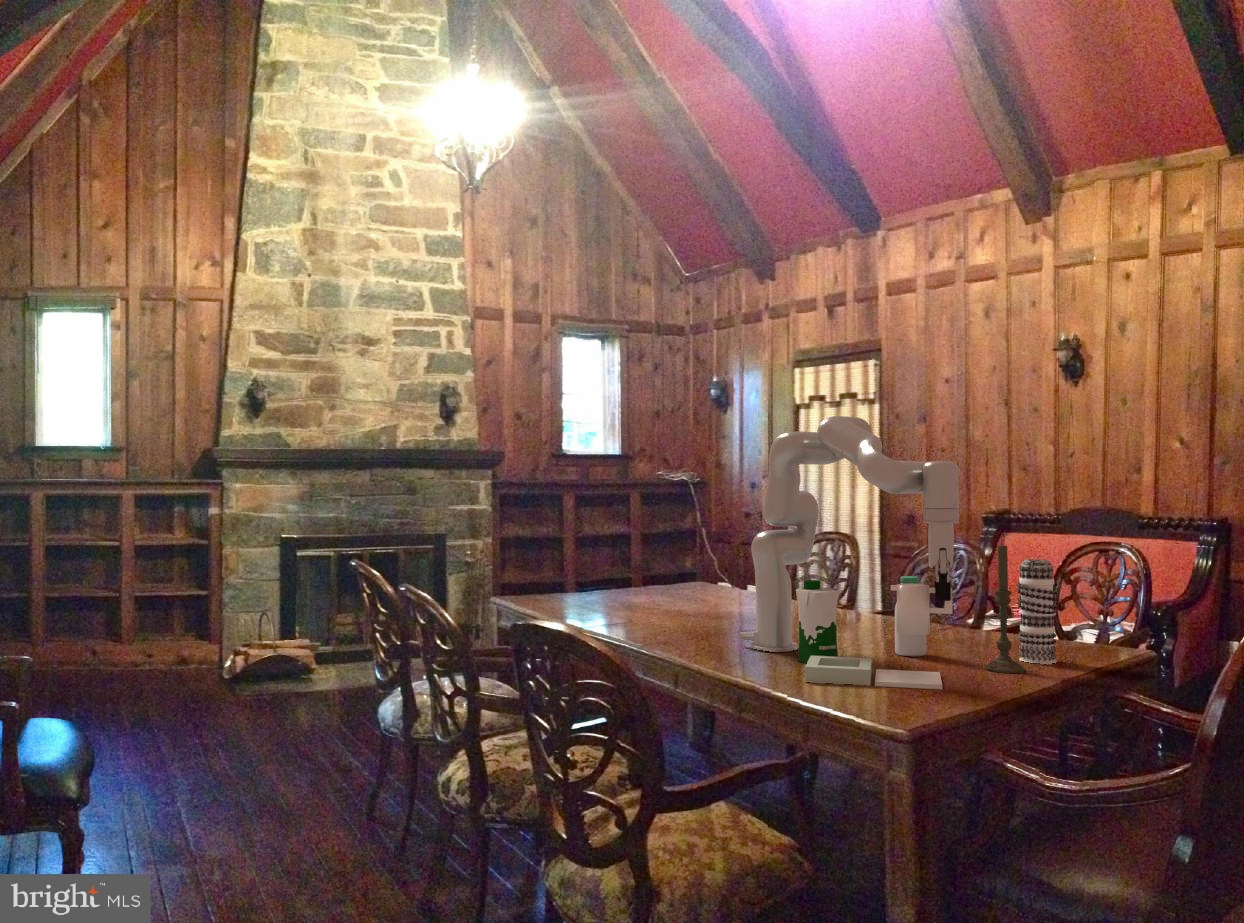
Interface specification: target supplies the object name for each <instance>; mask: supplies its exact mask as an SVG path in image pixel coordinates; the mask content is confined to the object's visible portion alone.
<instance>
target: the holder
mask: <svg viewBox="0 0 1244 923" xmlns="http://www.w3.org/2000/svg"><path fill="white" fill-rule="evenodd" d="M872 660H873V659H872V657H852V656H851V657H850V656H838V657H833V656H810V658H809V660H808V662H807V664H806V663H805V666H804V669H805V670H804V672H805V674H804V678H805V679H804V680H805V682H810V683H809V684H825V683H833V684H832V685H844V684H853V685H852V686H864V685H866V686H869V687H870V686H871V684H872V674H873V669H872V668H873V662H872ZM805 682H804V683H805ZM866 686H865V687H866Z"/></svg>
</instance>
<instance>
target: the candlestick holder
mask: <svg viewBox="0 0 1244 923" xmlns="http://www.w3.org/2000/svg"><path fill="white" fill-rule="evenodd" d="M1000 544H1001V545H999V544H998V545H997V590H996V589H995V590H994V594H995V595H996V598H995V601H996V602H995V603H997V604H998V605H999V613H998V618H999V625H1000V627H999V630H1000V637H999V638H998V640H996V641H995V645H996V647H997V649H998V650H999V655H998V656H997V657H996V658H995V659H992V660H991V661H989V662H988V663H986V664H984V665H983V670H986V671H988V672H990V673H991V672H992V673H998V674H1021V673H1020V672H1022V673H1024V672H1025V671H1026V669H1025V666H1023V665H1021V664H1020V663H1019V662H1017V660H1014V659H1012V658H1011V657H1010V655H1009V651H1010V650H1012V649H1011V648H1012V645H1013V643H1012V641H1010V640H1009V637H1008V635H1007V632H1008V619H1009V614H1008V612H1009V611H1008V607H1007V606H1008V605H1009V604H1011V602H1012V601H1011V598H1010V596H1011V595H1012V593H1013V591H1012V590H1009V568H1008V567H1009V566H1008V565H1009V564H1008V561H1009V560H1008V559H1009V558H1008V545H1006V544H1004V545H1003V543H1002V542H1000Z"/></svg>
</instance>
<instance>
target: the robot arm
mask: <svg viewBox="0 0 1244 923" xmlns="http://www.w3.org/2000/svg"><path fill="white" fill-rule="evenodd" d="M769 448H770V449H769V456H768V478H767V482H766V488H765V495H764V499H763V500H764V501H763V508H762V516H763V519H764V522H765V523H766V524H767V525H769V526H773V527H787V529H769V530H768V529H767V530H764V531H761V532H759V533H758V534H757V535H755V536H754V537H753V540H752V541H751V545H750V546H751V547H750V548H751V556H752V560H753V568H754V577H755V578H754V580H755V630H754V631H751V632H748V631H747V632H743V631H741V632H740V633H739V640H743V641H751V643H750V648H751V647H752V648H753V649H752V648H751V649H752V650H754V649H757V650H756V651H758V650H763V651H762V652H765V651H769V652H768V653H789V652H794V651H797V650H799V643H796V642H793V623H792V621H793V617H792V616H793V613H792V612H793V610H792V609H793V608H792V602H793V601H792V600H793V599H792V580H791V577H790V576H791V575H790V574H789V571H788V570H787V567H786V566H789V565H791V566H792V565H799V564H800V565H801V564H803V563H805V562H807V561H808V560H809V558H810V557H811V555H812V553H813V550H814V549H813V548H814V543H815V539H816V532H817V528H818V527H817V526H818V521H819V505H818V500H817V499H816V498H815V496H814V495H813V494H812V493H811V492H809V491H806V490H800V485H801V473H800V470H799V467H798V465H820V466H821V465H831V464H834V463H836V462H839V461H841V460H843V459H846V460H847V461H848V462H849V463H851V464H853V465H855V466H856V468H857V471H858V473H859V474H860V476H862V478H863V479H864V480H866V482H868V483H870V484H871V485H873V486H875V487H877V488H878V489H879V490H882V491H884V492H886V493H888V494H893V495H909V494H910V495H920V494H921V495H923V496H922V497H923V498H922V500H923V502H922V504H923V505H922V506H923V511H922V512H923V524H928V531H927V532H928V533H927V539H928V541H927V542H928V544H927V548H928V549H927V550H928V555H927V556H928V566H929V568H930V569H933V567H934V568H935V573H934V574H935V580H934V588H935V593H934V599H935V601H937V602H939V601H943V602H945V601H950V600H951V588H952V587H951V586H952V585H951V582H950V569H952V568H953V565H954V549H955V548H954V547H955V541H954V540H955V535H954V534H955V532H954V531H955V530H954V528H955V527H954V526H955V525H954V524H960V494H959V492H960V491H959V486H960V485H959V467H958V464H957V463H956V462H955V461H952V460H951V461H950V460H947V461H946V460H934V461H932V460H931V461H924V460H923V461H921V460H919V461H918V460H895V459H892V458H890V457H888V456H887V455H884V454H883V453H882V451H883V443H882V440H881V438H879V437H878V436H877V435H875V434H874V433H873V430H872V427H871V425H870V423H869V422H868V421H866V420H865V419H863V418H861V417H857V416H843V415H841V416H840V415H836V416H835V415H834V416H829V417H827V418H825V419H823V420H822V421H821V422H820V423H819V425H818V427H817V431H798V430H797V431H790V432H789V431H787V432H784V433H782V434H780V435H778V436H777V437H775V439H774V440H773V441H772V443H771V446H770V447H769ZM793 650H794V651H793Z"/></svg>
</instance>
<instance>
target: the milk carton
mask: <svg viewBox="0 0 1244 923" xmlns="http://www.w3.org/2000/svg"><path fill="white" fill-rule="evenodd" d="M795 592H796V594H795V595H796V599H797V604H798V657H797V658H798V661H801V662H800V663H802V662H803V664H806V663H807V662H808V660H809V658H810V656H833V657H839V652H838V637H837V636H838V635H837V634H838V633H837V628H838V626H837V608H838V607H837V606H838V601H839V598H840V596H839V595H840V590H836V589H833V588H824V587H821V580H818V579H817V580H816V579H806V580H803V588H797V589H795Z"/></svg>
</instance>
